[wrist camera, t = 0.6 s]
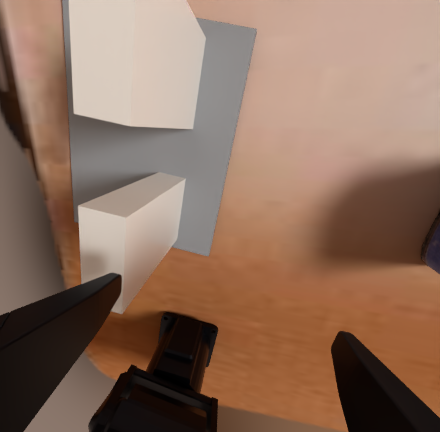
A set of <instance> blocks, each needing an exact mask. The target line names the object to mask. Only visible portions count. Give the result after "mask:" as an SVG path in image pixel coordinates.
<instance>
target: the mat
mask: <svg viewBox="0 0 440 432" xmlns="http://www.w3.org/2000/svg"><path fill="white" fill-rule="evenodd" d="M62 4H63V23H64V41H65V60H66V78H67V97H68V115H69V134H70V152H71V171H72V189H73V208H74V222H77V223H79V217H78V206H79V205H81V204H83V203H86V202H88V201H91V200H93V199H95V198H98V197H100V196H103V195H105V194H108V193H110V192H112V191H115V190H117V189H120V188H122V187H124V186H127V185H129V184H132V183H134V182H137V181H139V180H141V179H144V178H146V177H149V176H151V175H154V174H156V173H158V172H161V173H165V174H169V175H173V176H178V177H182V178H186V181H185V188H184V195H183V202H182V208H181V215H180V222H179V229H178V236H177V240H176V241H175V243H174V244H173V245H172V247H174V248H178V249H182V250H186V251H189V252H193V253H197V254H201V255H205V256H209V254H210V249H211V244H212V240H213V235H214V230H215V225H216V221H217V216H218V211H219V207H220V202H221V197H222V192H223V188H224V183H225V178H226V174H227V169H228V164H229V159H230V155H231V150H232V145H233V140H234V136H235V131H236V126H237V122H238V117H239V112H240V107H241V103H242V98H243V93H244V89H245V84H246V79H247V74H248V70H249V65H250V60H251V55H252V51H253V46H254V41H255V37H256V29H254V28H249V27H244V26H238V25H233V24H227V23H222V22H217V21H211V20H206V19H200V18H196V20H197V22H198V24H199V26H200V28H201V29H202V31H203V33H204V35H205V37H206V41H205V48H204V55H203V62H202V69H201V76H200V83H199V90H198V97H197V104H196V111H195V118H194V125H193V129H175V128H154V127H134V126H126V125H122V124H117V123H113V122H109V121H104V120H100V119H95V118H91V117H86V116H82V115H77V114H74V108H73V86H72V64H71V42H70V21H69V0H62Z"/></svg>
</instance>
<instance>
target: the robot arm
mask: <svg viewBox="0 0 440 432" xmlns="http://www.w3.org/2000/svg"><path fill="white" fill-rule="evenodd" d="M121 289H122V276H121V275H120V274H117V273H109V274H106V275H104V276H101V277H98V278H96V279H93V280H91V281H88V282H85V283H83V284H80V285H78V286H75V287H73V288H70V289H67V290H65V291H63V292H60V293H57V294H55V295H52V296H49V297H47V298H44V299H42V300H39V301H37V302H34V303H31V304H29V305H26V306H24V307H21V308H18V309H16V310H13V311H11V312H10V313H9V312H8V313H5V314H3V315H0V432H23V431H24V430H25V429H26V428H27V426H28V425H29V424H30V422H31V421H32V419H33V418H34V417H35V415H36V414H37V413H38V411H39V410H40V409H41V407H42V406H43V405H44V403H45V402H46V401H47V399H48V398H49V397H50V395H51V394H52V393H53V391H54V390H55V389H56V387H57V386H58V385H59V383H60V382H61V380H62V379H63V378H64V377H65V375H66V374H67V373H68V371H69V370H70V368H71V367H72V366H73V364H74V363H75V361H76V360H77V359H78V358H79V356H80V355H81V354H82V352H83V351H84V350H85V348H86V347H87V346H88V344H89V343H90V342H91V340H92V339H93V338H94V336H95V335H96V334H97V332H98V331H99V329H100V328H101V326H102V325H103V323H104V321H105V320H106V318H107V316H108V315H109V313H110V311H111V310H112V308H113V306H114V305H115V303H116V301H117V300H118V298H119V296H120V294H121ZM217 333H218V328H217V327H216V326H214V325H211V324H207V323H203V322H200V321H196V320H193V319H189V318H185V317H182V316H178V315H175V314H171V313H167V312H166V313H164V314H163V316H162V319H161V327H160V334H159V342H158V346H157V348H156V350H155V352H154V354H153V356H152V359H151V361H150V363H149V365H148V367H147V370H146V371H144V370H141V369H139V368H137V366H135V365H132V364H131V366H130V368H129V369H128V371H127V372H125V373H122V374H120V376H119V378H118V380H117V382H116V383H115V385H114V387H113V389H112V390H111V392H110V394H109V395H108V396H107V398H106V399H105V401H104V402H103V403H102V405H101V406H100V407H99V409H98V410H97V412H96V413H95V414H94V415H93V417H92V419H91V421H90V423H89V425H88V427H89V432H217V408H218V399H216V398H213V397H212V398H210V397H208V396H205V395H203V394H200V392H201V387H202V383H203V378H204V373H205V368H206V367H208V366H209V363H210V359H211V355H212V352H213V348H214V344H215V340H216V337H217ZM331 353H332V359H333V365H334V371H335V376H336V382H337V388H338V393H339V397H340V401H341V405H342V409H343V413H344V416H345V420H346V424H347V427H348V431H349V432H440V418H439V417H438V416H437V415H436V414H435V413H434V412H433V411H432V410H431V409H430V408H429V407H428V406H427V405H426V404H425V403H424V402H423V401H421V400H420V399H419V398H418V397H417V396H416V395H415V394H414V393H413V392H412V391H411V390H410V389H409V388H408V387H407V386H406V385H405V384H404V383H403V382H402V381H401V380H400V379H399V378H398V377H396V376H395V375H394V374H393V373H392V372H391V371H390V370H389V369H388V368H387V367H386V366H385V365H384V364H383V363H382V362H381V361H380V360H379V359H378V358H377V357H376V356H375V355H374V354H373V353H372V352H370V351H369V350H368V349H367V348H366V347H365V346H364V345H363V344H362V343H361V342H360V341H359V340H358V339H357V338H356V337H355V336H354V335H353V334H351V333H349V332H345V331H339V332H338V334H337V336H336V338H335V340H334V342H333V344H332V347H331Z"/></svg>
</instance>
